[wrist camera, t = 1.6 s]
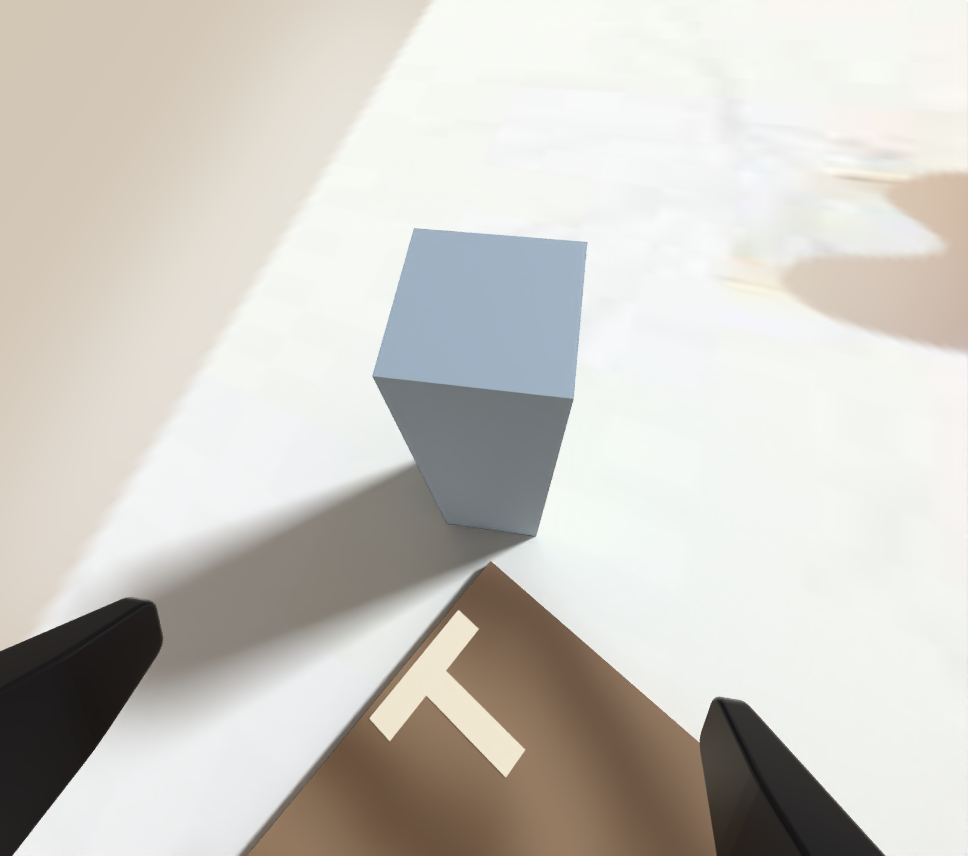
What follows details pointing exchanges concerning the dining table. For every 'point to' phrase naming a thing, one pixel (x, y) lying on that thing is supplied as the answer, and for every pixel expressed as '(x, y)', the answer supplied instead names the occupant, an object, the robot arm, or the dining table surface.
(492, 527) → the slate-blue block
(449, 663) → the board
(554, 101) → the dining table surface
